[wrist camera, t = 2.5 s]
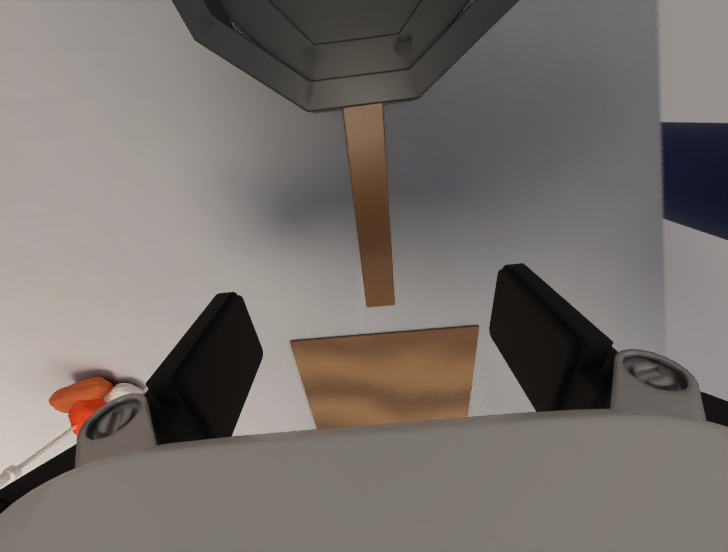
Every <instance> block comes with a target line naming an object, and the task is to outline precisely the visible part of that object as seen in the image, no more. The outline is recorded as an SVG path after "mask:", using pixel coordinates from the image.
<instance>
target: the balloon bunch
mask: <svg viewBox="0 0 728 552" xmlns="http://www.w3.org/2000/svg"><path fill="white" fill-rule="evenodd" d="M130 393H140V394H142V389H141V388H138V387H136V386H134V385H132V384H130V383H119V384H117V385H116V386H115V387H114V388H113V385H112V384H111V383H110V382H108V381H107V380H105V379H104V378H102V377H93V378H90V379H87V380H83V381H78V382H76V383H74V384H72V385H70V386H68V387H64V388H61V389H59V390H57V391H56V392H55V393H54V394H53V395H52V396H51V397H50V399H49V403H50V405H51V406H53V407H54V408H55V409H56V410H59V411H61V412H64V413H69V415H68V417H69V419H70V422H71V428H70V429H68V430H67V431H66V432H64V433H63V434H61V435H60V436H59V437H57V438H56V439H54V440H53V441H52V442H50V443H49V444H47V445H46V446H45V447H43V448H42V449H41V450H39V451H38V452H36V453H35V454H34V455H32V456H31V457H29V458H28V459H27V460H25V461H24V462H22V463H21V464H20V465H18V466H15V465H12V466H9V467H8V468H7V469H5V470H4V471H3V473H2V474H0V487H1V486H3V485H4V484H5V483H7V482H8V481H11V480H15V479H16V478H17V477H19V476H20V475H21V469H22V468H23V467H24V466H26V465H27V464H28V463H30V462H31V461H33V460H34V459H35V458H37V457H38V456H39V455H41V454H42V453H43V452H45V451H46V450H47V449H49V448H50V447H51V446H53V445H54V444H55V443H57V442H58V441H59V440H61V439H62V438H64V437H65V436H66V435H68V434H69V433H70V432H72V431H73V432H74V433H75V434H76V435H78V433H79V430H80V428H81V427H82V425H83V424H84V422H85V421H86V420H87V419H88V418H89V417H90V416H91V415H92V414H93V413H94V412H95V411H97V410H98V409H99V408H100V407H102V406H103V405H105V404H107V403H108V402H110V401H112V400H113V399H116V398H118V397H120V396H123V395H126V394H130Z"/></svg>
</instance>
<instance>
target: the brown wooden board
mask: <svg viewBox="0 0 728 552" xmlns="http://www.w3.org/2000/svg"><path fill="white" fill-rule="evenodd" d="M478 331H479V326H478V325H476V326H463V327H451V328H439V329H427V330H415V331H403V332H391V333H378V334H366V335H354V336H342V337H330V338H318V339H305V340H293V341H290V344H291V347H292V350H293V353H294V356H295V360H296V363H297V366H298V369H299V372H300V376H301V379H302V382H303V385H304V388H305V392H306V395H307V398H308V401H309V404H310V408H311V411H312V414H313V417H314V420H315V424H316V427H317V429H325V428H337V427H349V426H361V425H373V424H386V423H398V422H410V421H423V420H435V419H448V418H461V417H467V416H468V408H469V400H470V392H471V385H472V377H473V369H474V362H475V354H476V346H477V339H478Z"/></svg>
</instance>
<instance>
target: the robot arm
mask: <svg viewBox="0 0 728 552" xmlns="http://www.w3.org/2000/svg"><path fill="white" fill-rule="evenodd" d="M489 330H490V335H491V338H492V339H493V341H494V343H495V344H496V346H497V348H498V349H499V351H500V353H501V354H502V356H503V357H504V359H505V361H506V362H507V364H508V366H509V367H510V369H511V371H512V372H513V374H514V376H515V377H516V379H517V380H518V382H519V384H520V385H521V387H522V389H523V390H524V392H525V394H526V395H527V397H528V399H529V400H530V402H531V403H532V405H533V407H534V408H535V410H536V412H528V413H514V414H501V415H488V416H474V417H461V418H448V419H435V420H423V421H410V422H398V423H386V424H373V425H361V426H349V427H337V428H325V429H314V430H302V431H291V432H279V433H268V434H257V435H245V436H234V437H231V436H232V434H233V431H234V429H235V426H236V424H237V421H238V418H239V416H240V413H241V411H242V408H243V406H244V403H245V401H246V398H247V396H248V393H249V391H250V388H251V386H252V383H253V381H254V378H255V375H256V373H257V370H258V368H259V365H260V363H261V360H262V357H263V350H262V347H261V344H260V342H259V339H258V336H257V334H256V331H255V329H254V326H253V323H252V321H251V318H250V316H249V313H248V310H247V308H246V305H245V303H244V300H243V298H242V296H240V295H237V294H236V293H235V292H229V293H219V294H217V295H216V296H215V297H214V298H213V300H212V301H211V302H210V303H209V305H208V306H207V307H206V308H205V310H204V311H203V312H202V313H201V315H200V316H199V317H198V318H197V320H196V321H195V322H194V323H193V325H192V326H191V327H190V329H189V330H188V331H187V332H186V334H185V335H184V336H183V337H182V339H181V340H180V341H179V342H178V344H177V345H176V346H175V347H174V349H173V350H172V351H171V352H170V354H169V355H168V356H167V357H166V359H165V360H164V361H163V362H162V364H161V365H160V366H159V367H158V369H157V370H156V371H155V372H154V374H153V375H152V376H151V378H150V379H149V380H148V381H147V383H146V386H147V387H148V391H147V392H146V393H145V395H143V394H140V393H130V394H126V395H123V396H120V397H118V398H116V399H113V400H112V401H110V402H108V403H107V404H105V405H103V406H102V407H100V408H99V409H98V410H97V411H95V412H94V413H93V414H92V415H91V416H90V417H89V418H88V419H87V420H86V421H85V422H84V424H83V425H82V427H81V428H80V430H79V433H78V436H77V444H76V445H74V446H72V447H71V448H69V449H67V450H66V451H64V452H62V453H61V454H59V455H57V456H56V457H54V458H52V459H51V460H49V461H47V462H46V463H44V464H42V465H41V466H39V467H37V468H36V469H34V470H32V471H31V472H29V473H27V474H26V475H24V476H22V477H21V478H19V479H17V480H16V481H14V482H12V483H11V484H9V485H7V486H5V487H4V488H2V489H0V552H728V401H725V400H722V399H720V398H717V397H714V396H712V395H709V394H706V393H703V392H701V391H700V389H699V385H698V383H697V381H696V379H695V377H694V376H693V375H692V374H691V373H690V372H689V371H688V370H687V369H685V368H684V367H682V366H681V365H679V364H678V363H676V362H674V361H672V360H670V359H668V358H667V357H664V356H662V355H659V354H656V353H653V352H649V351H645V350H638V349H628V350H622V351H620V352H619V353H618V352H617V351H616V350H615V349H614V348H613V347H612V344H613V341H611V340H610V339H609V338H608V337H607V336H606V335H605V334H603V333H602V332H601V331H600V330H599V329H598V328H597V327H595V326H594V325H593V324H592V323H591V322H590V321H589V320H587V319H586V318H585V317H584V316H583V315H582V314H581V313H580V312H578V311H577V310H576V309H575V308H574V307H573V306H572V305H570V304H569V303H568V302H567V301H566V300H565V299H564V298H562V297H561V296H560V295H559V294H558V293H557V292H556V291H554V290H553V289H552V288H551V287H550V286H549V285H548V284H546V283H545V282H544V281H543V280H542V279H541V278H540V277H538V276H537V275H536V274H535V273H534V272H533V271H532V270H530V269H529V268H528V267H527V266H526V265H525V264H523V263H520V264H510V265H505V266H504V267H503V269H500V270H499V272H498V276H497V282H496V289H495V295H494V301H493V308H492V314H491V321H490V327H489Z"/></svg>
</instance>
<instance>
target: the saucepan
mask: <svg viewBox="0 0 728 552" xmlns="http://www.w3.org/2000/svg"><path fill="white" fill-rule="evenodd" d="M469 1H470V0H172V2H173V3H174V5H175V7H176V9H177V10H178V12H179V14H180V16H181V17H182V19H183V21H184V22H185V24H186V26H187V28H188V29H189V31H190V33H191V35H192V36H193V38H194V40H195V41H197V42H198V43H200V44H201V45H203V46H204V47H206V48H207V49H209V50H211V51H212V52H214V53H215V54H217V55H218V56H220V57H222V58H223V59H225V60H226V61H228V62H229V63H231V64H233V65H234V66H236V67H237V68H239V69H240V70H242V71H244V72H245V73H247V74H248V75H250V76H251V77H253V78H255V79H256V80H258V81H259V82H261V83H263V84H264V85H266V86H267V87H269V88H270V89H272V90H274V91H275V92H277V93H278V94H280V95H281V96H283V97H285V98H286V99H288V100H289V101H291V102H292V103H294V104H296V105H297V106H299V107H300V108H302V109H303V110H305V111H307V112H313V113H319V112H327V111H335V110H343V117H344V126H345V134H346V142H347V150H348V158H349V167H350V175H351V183H352V191H353V200H354V208H355V216H356V224H357V233H358V241H359V249H360V257H361V265H362V274H363V282H364V290H365V298H366V306H367V307H375V306H386V305H394V304H395V299H394V283H393V266H392V249H391V232H390V215H389V198H388V182H387V165H386V148H385V131H384V114H383V105H385V104H393V103H401V102H410V101H413V100H416V99H418V98H420V97H421V96H422V95H423V94H424V93H425V92H426V91H427V90H428V89H429V88H430V87H431V86H432V85H433V84H434V83H435V82H436V81H437V80H438V79H439V78H440V77H441V76H442V75H443V74H444V73H445V72H446V71H447V70H448V69H449V68H450V67H452V66H453V65H454V64H455V63H456V62H457V61H458V60H459V59H460V58H461V57H462V56H463V55H464V54H465V53H466V52H467V51H468V50H469V49H470V48H471V47H472V46H473V45H474V44H475V43H476V42H477V41H478V40H479V39H480V38H481V37H482V36H483V35H484V34H485V33H486V32H487V31H488V30H489V29H490V28H491V27H492V26H493V25H494V24H495V23H496V22H498V21H499V20H500V19H501V18H502V17H503V16H504V15H505V14H506V13H507V12H508V11H509V10H510V9H511V8H512V7H513V6H514V5H515V4H516V3H517V2H518V1H519V0H475V1H474V2H473V3H472V4H471V5H470V6H469V7H468V8H467V9H466V10H465V11H464V12H463V13H462V14H461V15H460V16H459V14H460V13H461V12H462V10H463V9H464V8H465V6H466V5H467V4H468V2H469ZM458 16H459V17H458ZM457 17H458V18H457ZM229 19H230V20H231V21H232V22H233V23H234V24H235V25H237V26H238V27H239V28H240V29H241V30H242V31H243V32H244V33H245V34H247V35H248V36H249V37H250V38H251V39H252V40H253V41H254V42H255V43H257V44H258V45H259V46H258V45H257V44H255V43H254V42H252V41H251V40H249V39H248V38H246V37H245V36H243V35H242V34H240V33H239V32H237V31H236V30H235V29H234V27H233V25H232V24H231V22H230V20H229Z"/></svg>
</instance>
